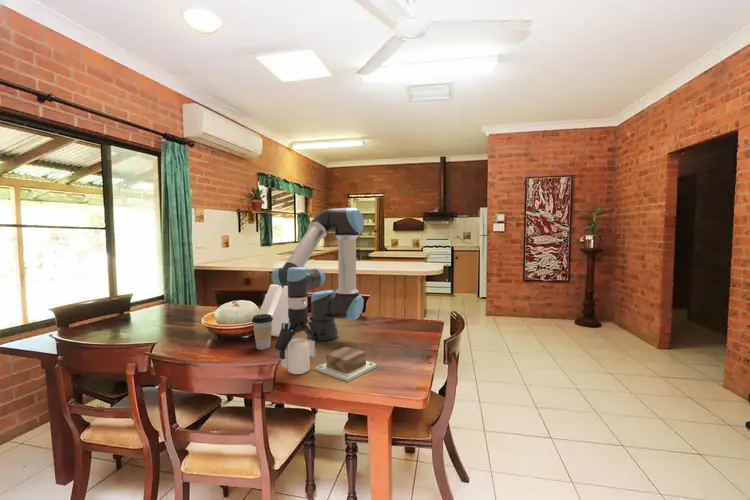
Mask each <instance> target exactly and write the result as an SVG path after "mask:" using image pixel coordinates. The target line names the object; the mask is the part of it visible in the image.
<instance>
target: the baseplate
mask: <svg viewBox="0 0 750 500" xmlns="http://www.w3.org/2000/svg"><path fill="white" fill-rule="evenodd" d="M375 368H377V363H375V362H373V361H368V360H366V365H364V366H362V367H360V368H358V369H356V370H354V371H352V372H350V373H348V374H347V373H344V372H341V371H338V370H335V369H332V368H329V367H327V363H326V362H325V363H322V364H318V365H317V366H315V371H316V372H320V373H322V374H325V375H328V376H331V377H334V378H337V379H339V380H342V381H344V382H347V383H348V382H350V381H352V380H354V379H356V378H357V377H360V376H361V375H363V374H366V373H367V372H369V371H371V370H373V369H375Z"/></svg>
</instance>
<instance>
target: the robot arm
mask: <svg viewBox="0 0 750 500" xmlns="http://www.w3.org/2000/svg"><path fill="white" fill-rule="evenodd" d="M364 224H365V222H364V216H363V214H362V212H361V210H360V209H358V208H356V207H339V208H336V207H335V208H334V207H332V208H326V209H324V210H322V211H320V212H319V213H318V214H317V215H316V216H314V218H313V219H312V220H311V221H310V223H309V224H308V227H307V229H308V230H307V231H306V232H305V234H304V235H303V237H302V238H301V239H300V241H299V243H298V244H297V246H296V247H295V249H294V250H293V251H292V253H291V254H290V256H289V258H288V259H287V260H286V262H285V263H284V264H283V266H282V267H277V268H274V269H273V270H272V273H271V280H272V282H273V285H279V286H282V287H284V286H288V307H289V309H288V318H289V322H288V323H282V327H281V331H280V334H279V337H277V340H276V343H275V345H274V349H275V350H277V351H279V359H280V360H281V359H282V361H280V362H281V365H280V366H281V367H283V368H285V369H286V368H287V369H288V344H289V342H290V340H292V339H293V337H294V336H295V335H296V333H299V332H303V331H304V333H305V334H306V336H307V337H308V339H309V340H308V342H309V357H312V358H315V357H316V348H317V347H316V346H317V341H319V342H324V341H325V342H326V341H331V340H332V341H333V340H334V339H337V338H338V337H339V330H338V326H337V324H336V321H335V320H336V319H343V320H356V319H358V318H359V317H360V316H361V315H362V312H363V309H364V303H365V302H364V301H365V300H364V298H363V297H364V296H361V295H360V291H359V289H357V239H358V238H359V236H360V233H362V232H363V230H364V228H365V227H364V226H365V225H364ZM329 233H334V236H335V237H336V238H337V240H338V241H337V243H338V246H337V247H338V248H337V249H338V252H337V254H338V255H337V257H338V261H337V262H338V263H337V264H338V265H337V266H338V267H337V268H338V271H337V272H338V273H337V275H338V276H337V277H338V279H337V280H338V285H337V286H338V288H337V289H336V290H335V291H334V290H333V289H329V290H328V289H326V290H320V291H316V292H313V293H312V294H311V296H310V297H311V298H310V299H311V301H310V304H311V305H310V306H311V307H310V308H311V309H310V310H311V312H310V313H311V315H309V309H308V304H309V302H308V301H309V299H308V298H309V297H308V296H309V295H308V294H309V293H308V290H312V289H315V288H319V287H321V286H323V285H324V283H326V274H325V272H324V271H323V270H322V269H320V268H312V269H307V267H305V265H306V264H307V262H308V261H309V259H310V257H311V256H312V254H313V253H314V251H315V250H316V248H317V246H318V245H319V243H320V241H321V240H322V239H323V238H325V237H326V236H327V235H328V234H329ZM307 324H308V325H307ZM288 328H289V329H288ZM291 330H292V331H291Z"/></svg>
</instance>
